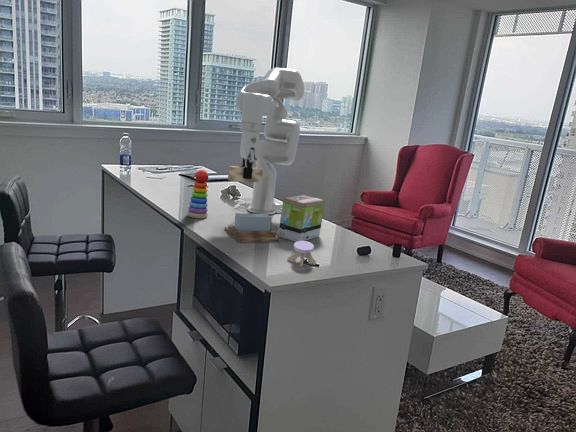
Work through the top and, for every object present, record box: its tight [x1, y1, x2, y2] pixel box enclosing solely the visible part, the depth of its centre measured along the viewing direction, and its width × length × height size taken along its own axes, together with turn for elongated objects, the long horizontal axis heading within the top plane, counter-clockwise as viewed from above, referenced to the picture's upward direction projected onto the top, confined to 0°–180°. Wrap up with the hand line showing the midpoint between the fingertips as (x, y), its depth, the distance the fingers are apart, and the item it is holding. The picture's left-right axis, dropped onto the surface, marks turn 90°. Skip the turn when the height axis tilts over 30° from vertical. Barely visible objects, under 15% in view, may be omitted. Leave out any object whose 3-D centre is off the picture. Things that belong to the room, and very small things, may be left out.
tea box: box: [277, 194, 326, 243], centre depth 175 cm, size 15×10×15 cm
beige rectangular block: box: [227, 165, 263, 183], centre depth 176 cm, size 12×4×5 cm, turn 109°
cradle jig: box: [224, 224, 281, 243], centre depth 170 cm, size 15×16×2 cm
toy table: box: [287, 240, 317, 268], centre depth 147 cm, size 10×9×6 cm
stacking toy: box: [186, 169, 209, 219], centre depth 186 cm, size 8×8×19 cm
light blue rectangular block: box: [233, 213, 272, 231], centre depth 170 cm, size 12×4×6 cm, turn 114°
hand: (245, 177), depth 176 cm, fingers closed on beige rectangular block, 3 cm apart
